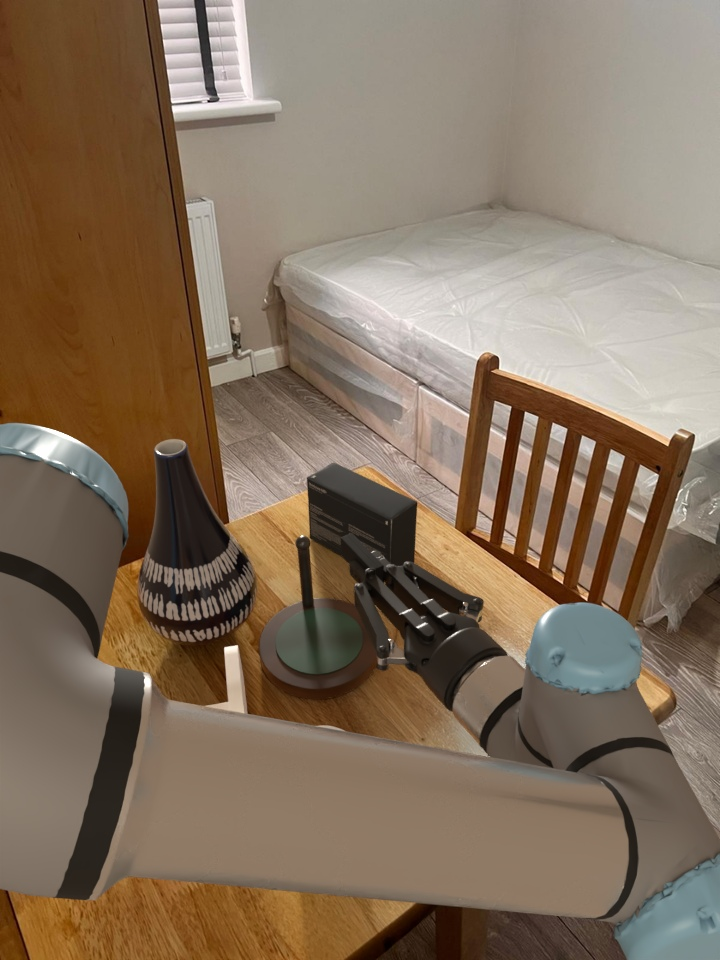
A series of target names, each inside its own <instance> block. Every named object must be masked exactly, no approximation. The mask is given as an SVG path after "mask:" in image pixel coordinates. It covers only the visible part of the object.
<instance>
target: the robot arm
mask: <svg viewBox="0 0 720 960" xmlns="http://www.w3.org/2000/svg"><path fill="white" fill-rule="evenodd" d="M129 510H130V509H129V501H128V496H127V492H126V490H125V488H124V485H123V484H122V481H121V480H120V478H119V476H118V474H117V473H116V472H115V470H114V468H112V466H111V465H110V464H109V463H108V461H106V460H105V459H104V458H103V457H102V455H100V454H99V453H98V452H96V451H95V450H94V449H92V448H91V447H90V446H88V445H87V444H85V443H83V442H81V441H79V439H76V438H75V437H72V436H70V435H68V434H65V433H63V432H61V431H58V430H55V429H52V428H48V427H44V426H41V425H35V424H28V423H22V422H21V423H19V422H7V423H3V424H0V890H3V891H8V892H13V893H17V894H21V895H26V896H33V897H41V898H42V897H43V898H51V899H52V898H53V899H62V900H63V899H64V900H75V901H76V900H77V901H96V900H98V899H99V898H100V897H101V896H103V895H104V894H105V893H106V892H107V891H109V890H110V889H111V888H113V886H115V885H116V884H117V883H119V882H120V881H122V880H124V879H126V878H128V877H129V878H139V879H151V880H162V881H172V882H184V883H194V884H196V883H197V884H207V885H216V886H227V887H228V886H229V887H237V888H238V887H239V888H249V889H262V890H269V891H270V890H271V891H283V892H293V893H294V892H295V893H306V894H316V895H326V896H335V897H336V896H338V897H347V898H359V899H369V900H379V901H380V900H382V901H391V902H401V903H402V902H403V903H413V904H424V905H425V904H426V905H434V906H435V905H436V906H444V907H445V906H447V907H456V908H457V907H459V908H467V909H479V910H488V911H489V910H491V911H499V912H500V911H501V912H513V913H522V914H535V915H546V916H554V917H555V916H557V917H565V918H566V917H568V918H577V919H586V920H595V921H600V922H607V923H611V925H612V929H613V937H614V939H615V940H617V942H618V945H619V946H620V948H621V950H622V952H623V954H624V957H625V959H626V960H720V837H719V835H718V833H717V831H716V829H715V828H714V826H713V824H712V822H711V821H710V818H709V817H708V815H707V813H706V812H705V810H704V808H703V805H702V804H701V802H700V800H699V799H698V797H697V795H696V794H695V792H694V790H693V789H692V786H691V785H690V783H689V781H688V779H687V777H686V775H685V773H684V772H683V770H682V768H681V767H680V765H679V763H678V762H677V759H676V757H675V755H674V753H673V750H672V749H671V747H670V745H669V743H668V740H667V739H666V738H665V736H664V733H663V732H662V730H661V728H660V727H659V725H658V723H657V721H656V719H655V717H654V715H653V713H652V711H651V710H650V708H649V706H648V704H647V702H646V701H645V699H644V696H643V695H642V693H641V692H640V689H639V687H638V683H637V680H638V679H640V677H641V672H642V669H643V667H642V665H641V664H642V658H643V645H642V640H641V638H640V636H639V634H638V632H637V630H636V629H635V628H634V626H633V625H632V624H631V623H630V622H629V621H628V620H626V618H625V617H623V616H622V615H621V614H619V613H618V612H616V611H614V610H612V609H609V608H607V607H605V606H602V605H599V604H596V603H592V602H581V601H580V602H575V603H573V602H569V603H562V604H558V605H556V606H553V607H552V608H550V609H548V610H547V611H545V612H544V613H543V614H542V615H541V616H540V617H539V619H537V621H536V623H535V625H534V628H533V630H532V631H533V632H532V635H531V638H530V639H531V640H530V644H529V648H527V649H526V652H525V655H524V656H525V659H524V663H525V667H523V665H521V663H519V661H517V660H516V659H515V658H514V657H512V656H510V655H509V654H508V652H507V650H506V649H504V647H502V646H501V645H500V644H499V643H498V642H497V641H496V640H495V639H494V638H493V637H492V636H491V635H489V633H488V632H487V631H485V629H483V628H480V627H481V626H480V624H479V623H480V622H482V620H483V612H484V603H485V602H484V598H482V597H480V596H476V595H472V594H469V593H465V592H463V591H461V590H460V589H458V588H456V587H455V586H453V585H451V584H450V583H448V582H446V580H443V579H441V578H440V577H439V576H436V575H435V574H434V573H432V572H430V571H428V570H426V569H424V568H423V567H421V566H420V565H419V564H417V563H415V562H414V563H413V562H411V561H407V562H405V563H404V564H403V566H396V565H394V564H391V563H390V562H389V561H388V560H387V559H386V558H384V556H383V555H382V554H381V553H380V552H378V551H373V552H370V551H369V550H368V549H367V548H366V547H365V546H364V545H363V544H362V543H361V542H360V541H359V540H358V539H357V538H356V537H355V536H354V535H353V534H352V533H351V534H348V535H346V536H343V537H341V556H340V557H342V558H343V559H344V561H345V562H346V563H347V564H348V567H349V569H348V570H349V575H350V577H352V578H353V580H354V581H355V582H356V583H355V585H353V595H354V597H353V598H354V605H355V607H356V609H357V611H358V613H359V615H360V618H361V620H362V622H363V624H364V626H365V628H366V631H367V633H368V635H369V637H370V639H371V641H372V644H373V646H374V648H375V650H376V669H377V670H379V671H381V672H385V671H387V670H388V669H389V668H390V665H401V666H402V665H403V666H404V667H405V668H406V669H407V670H408V671H409V672H413V673H414V674H416V675H418V676H419V677H420V678H421V679H422V681H423V682H424V684H425V686H426V687H427V688H428V689H429V690H430V692H431V693H433V695H434V696H435V697H436V699H438V701H439V702H440V703H441V704H442V705H443V706H444V708H446V709H447V711H449V712H450V713H452V715H453V718H454V719H455V720H456V721H457V722H458V723H459V724H460V725H461V727H462V728H463V729H464V730H465V731H466V732H467V734H469V736H470V737H471V738H472V739H473V740H474V741H475V742H476V743H477V744H478V745H479V747H480V748H481V749H482V750H483V751H484V752H485V753H486V756H485V755H481V754H476V753H475V754H474V753H470V752H464V751H458V750H452V749H446V748H442V747H436V746H431V745H430V746H429V745H424V744H420V743H414V742H407V741H403V740H402V741H401V740H396V739H392V738H391V739H390V738H386V737H385V738H384V737H380V736H374V735H369V734H363V733H362V734H361V733H357V732H351V731H346V730H344V731H341V730H335V729H330V728H324V727H318V726H319V725H312V724H307V723H302V722H295V721H290V720H284V719H279V718H274V717H268V716H262V715H257V714H252V713H251V714H250V713H248V714H246V713H240V712H234V711H229V710H223V709H218V708H212V707H206V706H207V705H201V704H200V705H199V704H194V703H189V702H184V701H178V700H173V699H169V698H168V697H166V696H165V695H164V694H163V692H162V691H161V689H160V687H159V686H158V685H157V683H156V682H155V680H154V678H153V677H152V675H151V674H150V673H149V672H146V671H141V670H136V669H129V668H125V667H120V666H115V665H114V666H113V665H111V664H108V663H105V662H104V661H101V660H100V659H99V658H98V657H99V654H100V650H101V645H102V640H103V636H104V630H105V626H106V621H107V617H108V612H109V609H110V605H111V599H112V595H113V591H114V587H115V583H116V578H117V575H118V571H119V566H120V562H121V558H122V553H123V550H124V549H126V546H127V541H128V538H129V536H130V534H129V524H128V522H129ZM379 611H380V612H381V613H382V615H384V617H385V618H386V620H388V621H389V622H390V623H391V625H392V626H394V628H395V629H396V630H397V631H398V632H399V635H400V637H401V639H402V640H403V649H401V648H400V647H399V646H398V643H396V641H395V639H393V638H390V635H389V631H388V629H387V627H386V625H385V622H384V620H383V618H382V617H381V614H380V612H379Z"/></svg>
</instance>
